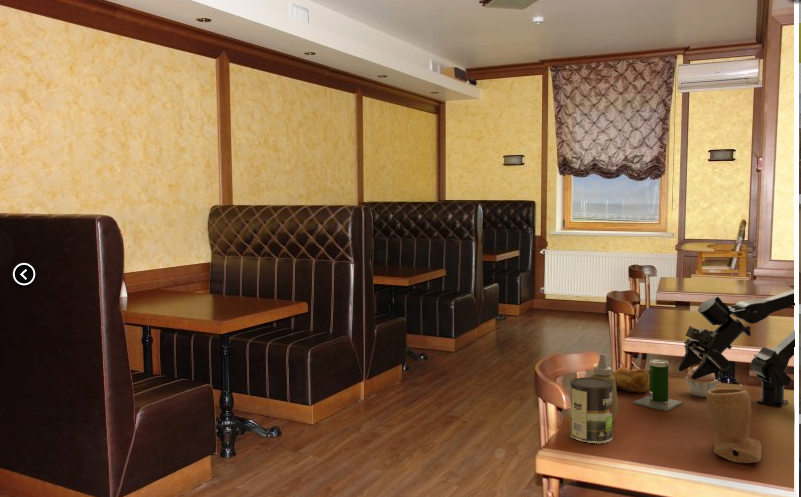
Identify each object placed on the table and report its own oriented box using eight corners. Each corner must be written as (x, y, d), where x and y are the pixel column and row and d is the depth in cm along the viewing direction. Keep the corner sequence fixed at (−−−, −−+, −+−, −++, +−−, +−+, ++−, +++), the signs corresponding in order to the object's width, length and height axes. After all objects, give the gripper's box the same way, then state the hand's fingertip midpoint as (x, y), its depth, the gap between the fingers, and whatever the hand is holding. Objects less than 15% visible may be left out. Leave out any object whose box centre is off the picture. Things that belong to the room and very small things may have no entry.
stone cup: (708, 438, 164) (709, 379, 163) (762, 447, 158) (764, 385, 157) (701, 459, 151) (702, 395, 150) (760, 469, 145) (761, 402, 144)
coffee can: (616, 434, 168) (617, 380, 167) (606, 447, 159) (606, 390, 159) (577, 427, 174) (577, 375, 173) (564, 439, 165) (564, 384, 164)
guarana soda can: (656, 405, 190) (656, 364, 189) (645, 399, 195) (645, 360, 194) (672, 403, 191) (673, 362, 190) (660, 398, 196) (661, 358, 195)
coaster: (649, 396, 200) (649, 394, 200) (682, 403, 193) (682, 401, 193) (633, 403, 193) (633, 401, 193) (666, 411, 186) (666, 409, 186)
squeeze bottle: (585, 422, 177) (585, 356, 176) (588, 413, 185) (589, 350, 184) (616, 425, 174) (617, 358, 173) (619, 416, 182) (619, 352, 181)
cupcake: (681, 389, 207) (682, 358, 206) (713, 391, 205) (714, 359, 204) (688, 398, 198) (689, 365, 197) (722, 399, 196) (722, 366, 195)
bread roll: (604, 390, 208) (604, 365, 207) (613, 383, 216) (613, 359, 215) (646, 396, 201) (646, 370, 200) (654, 389, 208) (654, 364, 208)
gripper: (690, 311, 200) (654, 348, 201) (718, 322, 182) (678, 363, 183) (716, 336, 201) (680, 373, 202) (747, 350, 182) (707, 390, 183)
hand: (685, 374), depth 192 cm, fingers open, 9 cm apart
